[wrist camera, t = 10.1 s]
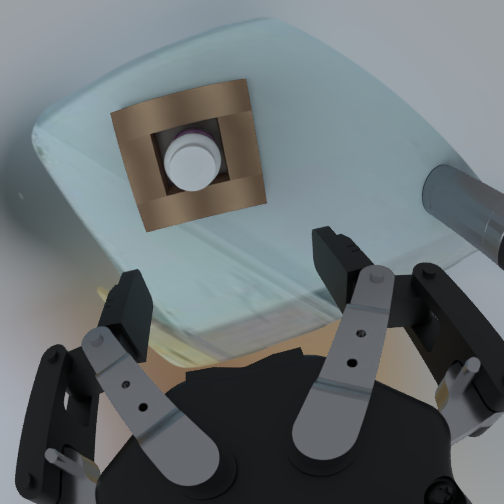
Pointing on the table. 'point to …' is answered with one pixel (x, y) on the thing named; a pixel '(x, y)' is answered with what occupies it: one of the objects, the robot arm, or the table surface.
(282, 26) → the table surface
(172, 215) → the well block
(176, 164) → the pill bottle
